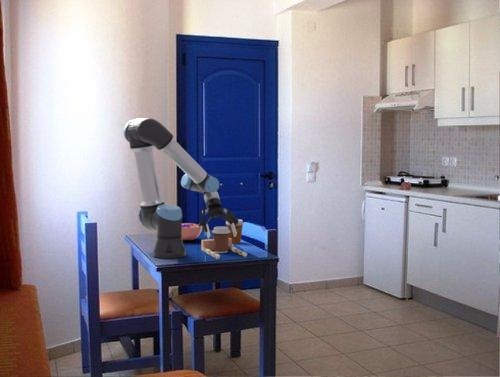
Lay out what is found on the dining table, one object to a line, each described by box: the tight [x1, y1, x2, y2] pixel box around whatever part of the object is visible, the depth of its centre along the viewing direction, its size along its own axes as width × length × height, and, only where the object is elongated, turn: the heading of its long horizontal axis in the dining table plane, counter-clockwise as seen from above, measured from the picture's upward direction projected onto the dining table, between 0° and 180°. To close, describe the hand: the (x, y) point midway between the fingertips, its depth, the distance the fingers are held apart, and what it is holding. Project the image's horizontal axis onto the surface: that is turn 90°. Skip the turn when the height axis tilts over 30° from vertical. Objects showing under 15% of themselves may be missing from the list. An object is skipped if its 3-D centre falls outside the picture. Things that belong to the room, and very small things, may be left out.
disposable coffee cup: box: [225, 218, 244, 245], centre depth 311 cm, size 10×10×12 cm
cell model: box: [182, 222, 203, 242], centre depth 317 cm, size 17×20×11 cm
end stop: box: [200, 238, 233, 252], centre depth 293 cm, size 3×15×5 cm, turn 113°
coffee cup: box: [211, 225, 231, 254], centre depth 286 cm, size 9×9×12 cm
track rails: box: [202, 245, 248, 260], centre depth 282 cm, size 20×15×2 cm
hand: (222, 236), depth 286 cm, fingers open, 13 cm apart
